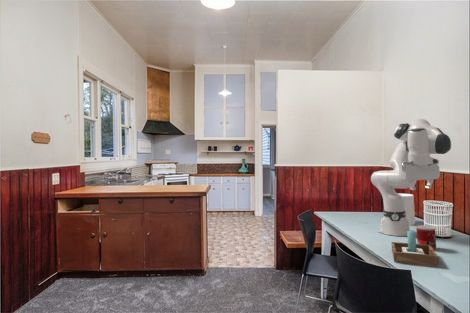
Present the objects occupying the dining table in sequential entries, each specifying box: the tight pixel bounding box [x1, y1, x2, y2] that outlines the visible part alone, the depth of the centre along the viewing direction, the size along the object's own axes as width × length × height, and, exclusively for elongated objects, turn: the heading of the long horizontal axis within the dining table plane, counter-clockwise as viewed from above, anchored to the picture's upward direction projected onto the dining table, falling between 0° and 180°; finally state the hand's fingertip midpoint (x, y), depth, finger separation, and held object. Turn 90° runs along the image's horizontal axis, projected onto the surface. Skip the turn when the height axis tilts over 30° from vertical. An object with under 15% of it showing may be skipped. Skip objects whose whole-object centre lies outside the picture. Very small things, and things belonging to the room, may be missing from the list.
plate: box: [402, 247, 424, 254], centre depth 123 cm, size 8×8×4 cm
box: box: [391, 241, 439, 268], centre depth 123 cm, size 16×16×5 cm
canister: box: [396, 192, 416, 226], centre depth 191 cm, size 16×16×20 cm
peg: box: [406, 230, 417, 252], centre depth 123 cm, size 3×3×12 cm
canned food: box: [416, 224, 437, 251], centre depth 136 cm, size 8×8×11 cm
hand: (420, 189), depth 131 cm, fingers open, 8 cm apart
